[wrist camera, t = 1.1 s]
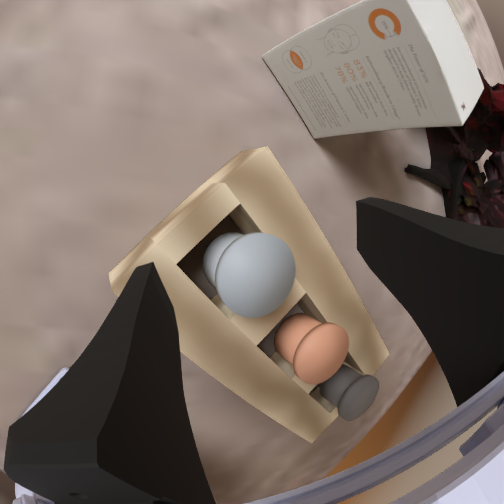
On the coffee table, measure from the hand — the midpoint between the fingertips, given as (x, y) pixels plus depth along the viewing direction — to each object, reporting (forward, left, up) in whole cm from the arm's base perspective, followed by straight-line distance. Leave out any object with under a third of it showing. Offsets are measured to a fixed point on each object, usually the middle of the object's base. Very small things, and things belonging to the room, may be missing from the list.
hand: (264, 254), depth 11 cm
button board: (0, -11, -11) cm, 16 cm away
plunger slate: (0, -3, -8) cm, 9 cm away
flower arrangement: (+31, -18, -11) cm, 38 cm away
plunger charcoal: (0, -19, -8) cm, 21 cm away
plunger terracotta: (0, -11, -8) cm, 14 cm away
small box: (+15, +2, -11) cm, 19 cm away
